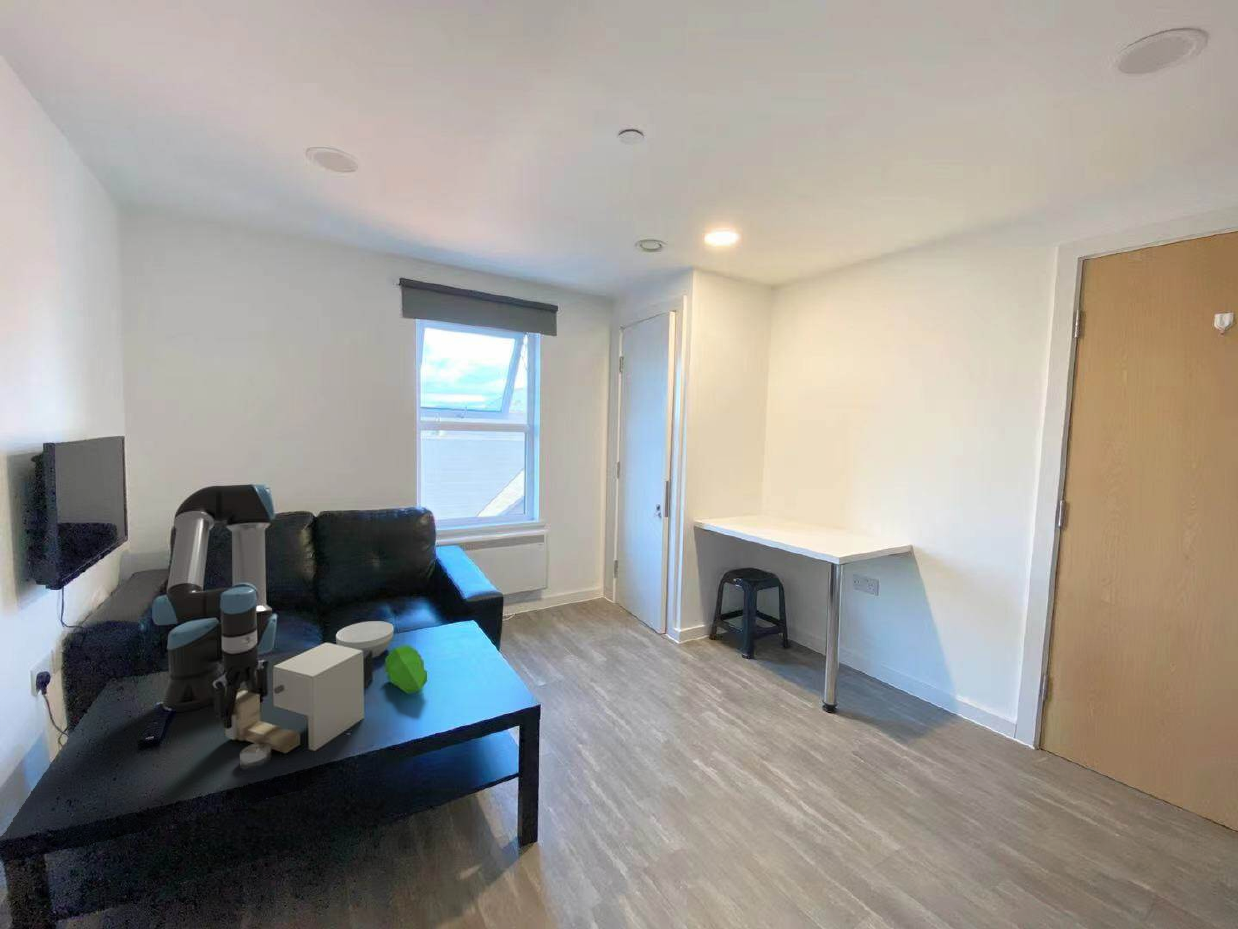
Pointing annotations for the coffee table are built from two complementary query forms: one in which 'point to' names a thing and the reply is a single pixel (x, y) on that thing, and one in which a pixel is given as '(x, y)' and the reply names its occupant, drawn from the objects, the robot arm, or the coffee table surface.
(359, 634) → the bowl
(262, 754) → the grey rounded puck
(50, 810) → the coffee table surface
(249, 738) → the tan l-shaped block
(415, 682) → the decorative tree
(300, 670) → the cabinet
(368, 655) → the small box
